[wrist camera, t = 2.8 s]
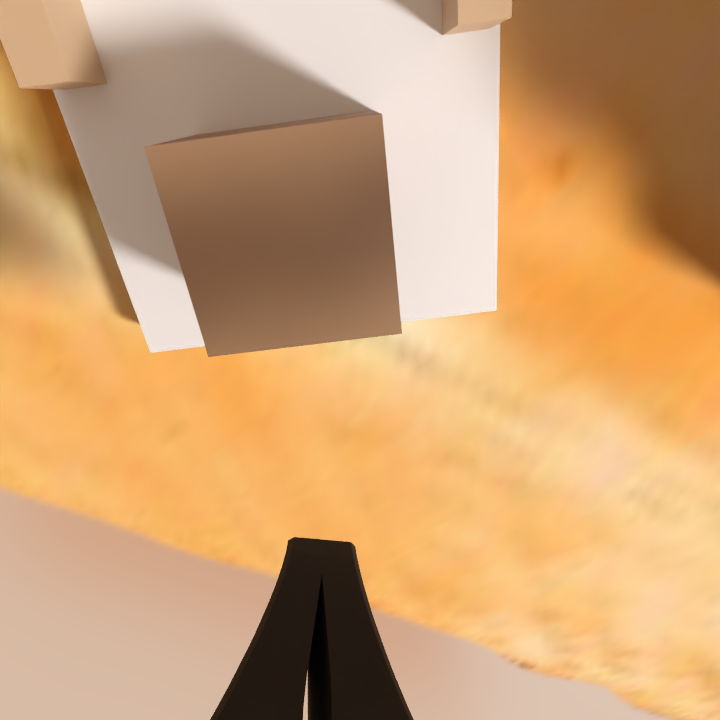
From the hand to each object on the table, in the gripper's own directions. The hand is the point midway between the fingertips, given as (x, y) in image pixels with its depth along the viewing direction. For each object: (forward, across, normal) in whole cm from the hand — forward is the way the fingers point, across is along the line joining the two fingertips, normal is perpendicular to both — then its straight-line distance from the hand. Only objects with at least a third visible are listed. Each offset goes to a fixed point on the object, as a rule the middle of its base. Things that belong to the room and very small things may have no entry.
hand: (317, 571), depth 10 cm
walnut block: (+8, +2, -6) cm, 10 cm away
